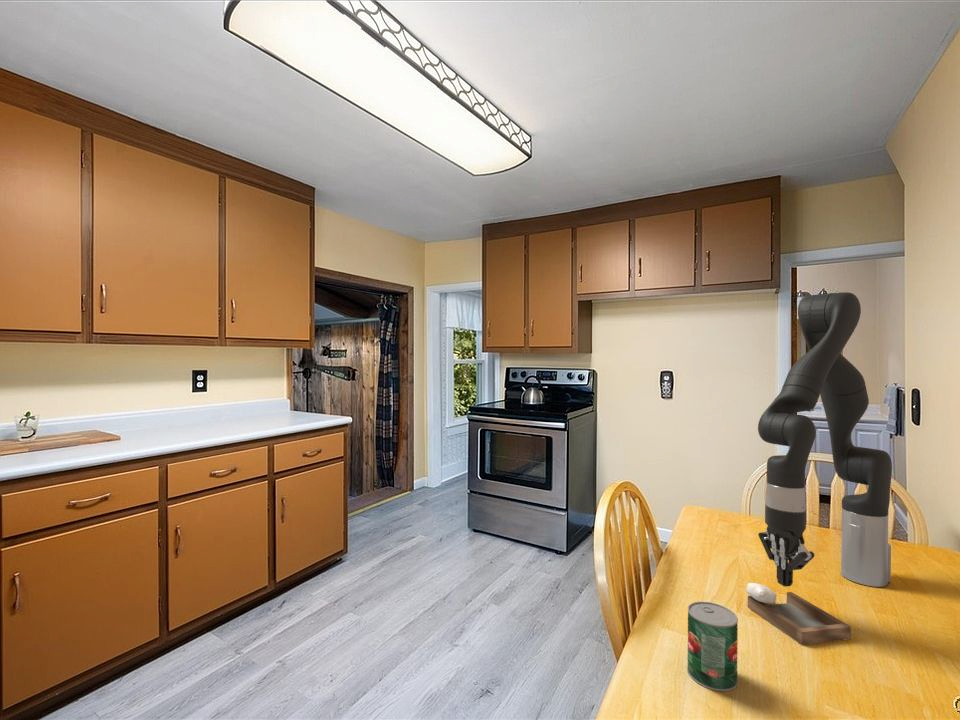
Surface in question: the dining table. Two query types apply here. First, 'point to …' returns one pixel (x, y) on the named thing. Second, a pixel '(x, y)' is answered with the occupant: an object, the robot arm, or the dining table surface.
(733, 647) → the canned tomato
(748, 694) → the dining table surface
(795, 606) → the u rest
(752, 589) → the eye dropper bottle
